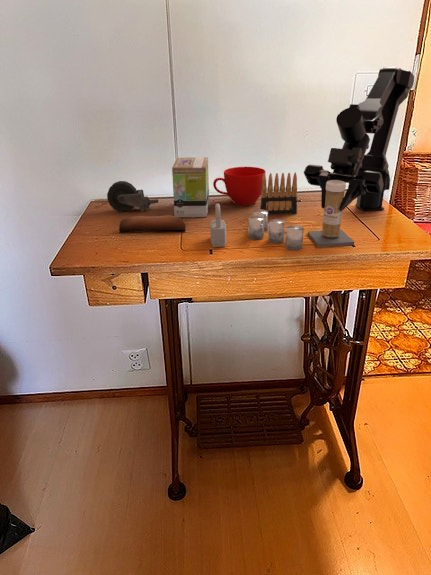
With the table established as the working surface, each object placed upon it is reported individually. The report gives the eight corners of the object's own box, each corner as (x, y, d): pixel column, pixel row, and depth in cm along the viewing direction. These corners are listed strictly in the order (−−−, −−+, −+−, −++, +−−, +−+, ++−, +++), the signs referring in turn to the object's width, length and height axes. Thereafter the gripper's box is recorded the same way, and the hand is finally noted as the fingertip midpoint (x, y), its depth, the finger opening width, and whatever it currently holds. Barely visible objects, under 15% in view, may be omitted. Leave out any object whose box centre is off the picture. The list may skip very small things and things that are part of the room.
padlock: (210, 237, 116) (209, 200, 112) (225, 237, 116) (225, 199, 112) (211, 247, 110) (209, 208, 106) (227, 247, 110) (226, 208, 106)
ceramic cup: (207, 201, 145) (205, 170, 141) (254, 195, 150) (254, 165, 146) (221, 212, 134) (221, 179, 130) (272, 205, 140) (273, 173, 135)
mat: (341, 232, 117) (341, 229, 117) (353, 244, 109) (354, 241, 109) (307, 234, 116) (307, 231, 116) (318, 247, 108) (318, 244, 108)
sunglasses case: (187, 221, 128) (185, 205, 122) (187, 241, 124) (184, 225, 118) (125, 223, 128) (120, 207, 123) (122, 242, 125) (117, 227, 119)
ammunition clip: (295, 211, 133) (298, 171, 128) (296, 213, 132) (299, 172, 126) (259, 212, 133) (260, 172, 128) (260, 214, 132) (261, 174, 126)
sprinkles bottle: (319, 236, 111) (324, 183, 105) (323, 230, 115) (328, 178, 109) (338, 239, 110) (344, 185, 103) (341, 232, 113) (347, 180, 107)
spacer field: (286, 225, 123) (287, 207, 120) (304, 250, 107) (305, 230, 105) (244, 228, 122) (244, 210, 120) (255, 253, 106) (256, 233, 104)
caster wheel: (110, 217, 137) (158, 210, 136) (102, 186, 132) (152, 179, 132) (113, 211, 142) (160, 205, 141) (106, 181, 137) (154, 174, 137)
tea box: (208, 217, 131) (206, 166, 124) (173, 218, 131) (170, 167, 124) (209, 202, 144) (208, 155, 137) (178, 203, 144) (175, 156, 138)
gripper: (309, 130, 109) (286, 186, 106) (387, 136, 99) (364, 197, 97) (319, 157, 118) (299, 209, 116) (392, 164, 109) (371, 221, 106)
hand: (331, 209), depth 108 cm, fingers closed on sprinkles bottle, 4 cm apart
